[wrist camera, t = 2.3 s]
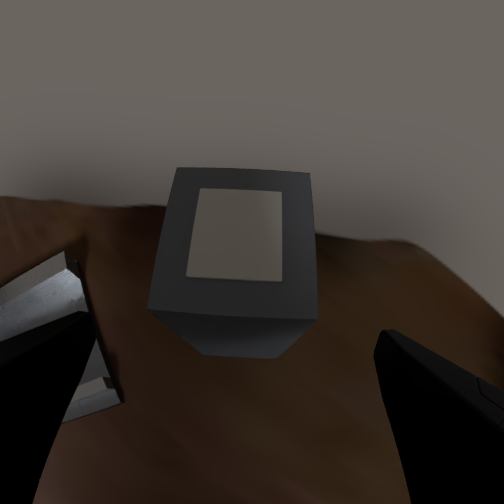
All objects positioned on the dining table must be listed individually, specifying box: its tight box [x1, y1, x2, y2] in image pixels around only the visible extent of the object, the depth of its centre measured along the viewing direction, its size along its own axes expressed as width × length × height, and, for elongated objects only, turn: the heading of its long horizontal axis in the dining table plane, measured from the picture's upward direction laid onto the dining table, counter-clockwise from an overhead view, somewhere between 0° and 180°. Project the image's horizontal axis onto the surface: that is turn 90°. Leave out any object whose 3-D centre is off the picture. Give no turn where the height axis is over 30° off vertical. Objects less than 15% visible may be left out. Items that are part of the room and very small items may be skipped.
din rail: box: [0, 251, 124, 424], centre depth 15 cm, size 11×12×3 cm
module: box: [147, 168, 318, 359], centre depth 13 cm, size 5×5×11 cm
